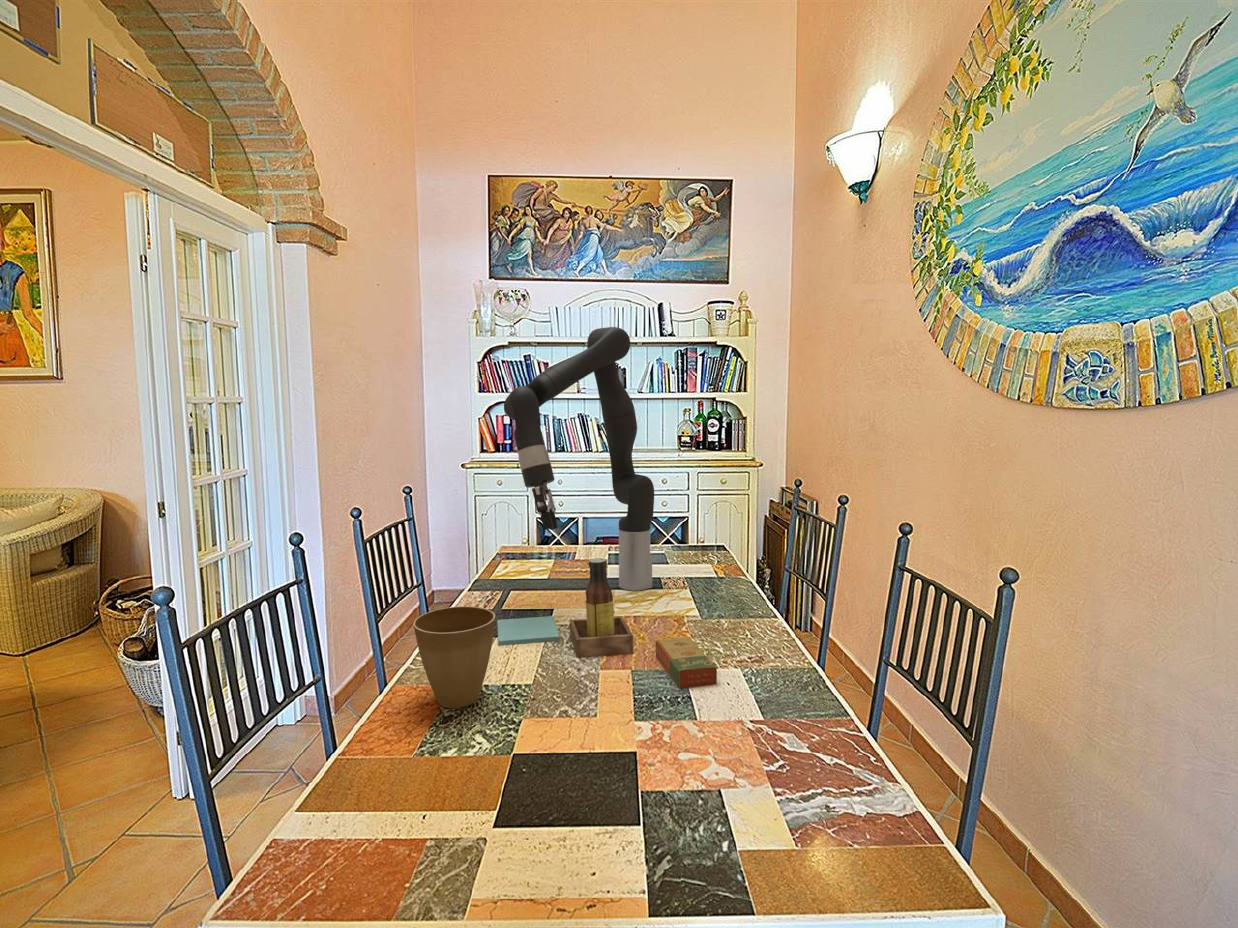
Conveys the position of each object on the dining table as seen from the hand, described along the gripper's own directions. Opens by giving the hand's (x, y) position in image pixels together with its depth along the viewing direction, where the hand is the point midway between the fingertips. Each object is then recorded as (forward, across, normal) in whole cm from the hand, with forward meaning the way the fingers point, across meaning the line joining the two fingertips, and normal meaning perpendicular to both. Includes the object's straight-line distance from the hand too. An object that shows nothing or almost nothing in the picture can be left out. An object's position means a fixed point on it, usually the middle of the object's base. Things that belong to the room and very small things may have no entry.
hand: (551, 529), depth 166 cm
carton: (+37, -21, -23) cm, 48 cm away
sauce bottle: (+29, -9, -6) cm, 31 cm away
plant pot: (+28, -36, +20) cm, 50 cm away
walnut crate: (+29, -9, -6) cm, 31 cm away
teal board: (+22, -2, +11) cm, 25 cm away
